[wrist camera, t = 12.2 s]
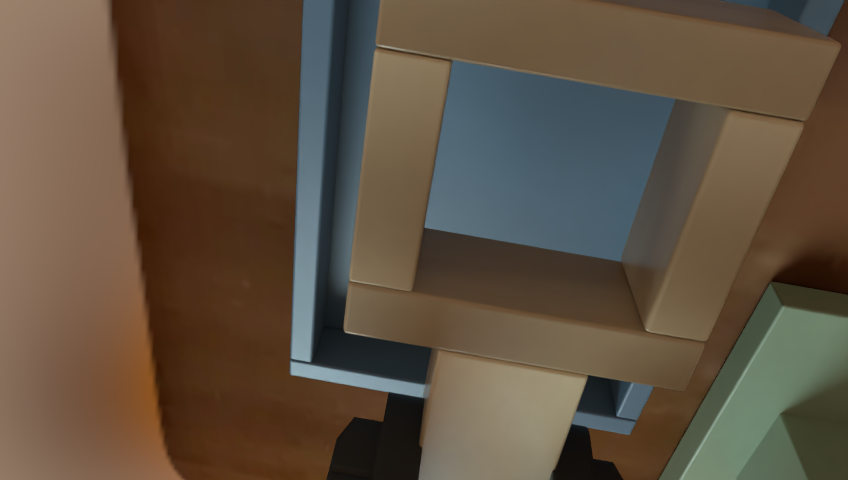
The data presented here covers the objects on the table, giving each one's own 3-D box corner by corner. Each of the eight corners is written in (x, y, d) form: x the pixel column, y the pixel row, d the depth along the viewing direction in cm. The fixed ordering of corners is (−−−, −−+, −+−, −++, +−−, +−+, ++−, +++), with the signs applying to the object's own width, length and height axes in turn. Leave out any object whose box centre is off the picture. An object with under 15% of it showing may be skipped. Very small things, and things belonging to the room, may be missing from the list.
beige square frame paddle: (403, -55, 9) (383, -37, 7) (774, 9, 9) (846, 43, 7) (340, 450, 14) (319, 536, 12) (584, 492, 14) (599, 584, 12)
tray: (345, -374, 11) (315, -402, 9) (914, -275, 11) (988, -286, 9) (307, 325, 19) (288, 376, 18) (620, 380, 19) (630, 436, 18)
